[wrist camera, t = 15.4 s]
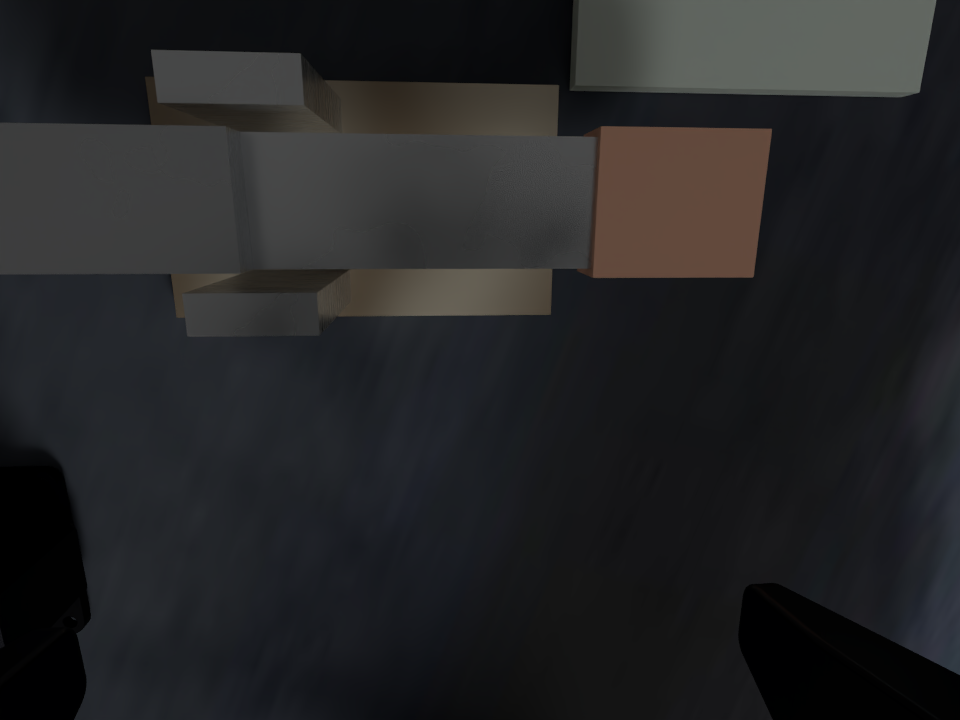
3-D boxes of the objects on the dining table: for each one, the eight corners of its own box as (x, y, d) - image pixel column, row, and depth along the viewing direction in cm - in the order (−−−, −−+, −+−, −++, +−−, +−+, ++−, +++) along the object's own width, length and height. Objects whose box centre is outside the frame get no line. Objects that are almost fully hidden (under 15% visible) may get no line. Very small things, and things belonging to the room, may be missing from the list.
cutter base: (187, 313, 19) (78, 359, 13) (158, 82, 17) (17, 18, 11) (545, 310, 20) (591, 352, 14) (553, 90, 18) (609, 34, 12)
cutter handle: (83, 269, 15) (-1, 283, 12) (60, 131, 14) (-37, 111, 11) (710, 267, 16) (769, 280, 13) (723, 140, 15) (790, 124, 13)
